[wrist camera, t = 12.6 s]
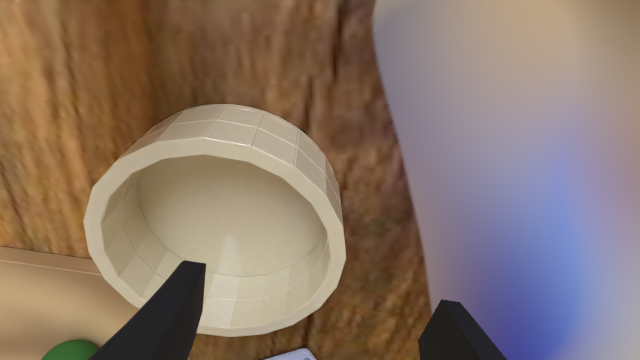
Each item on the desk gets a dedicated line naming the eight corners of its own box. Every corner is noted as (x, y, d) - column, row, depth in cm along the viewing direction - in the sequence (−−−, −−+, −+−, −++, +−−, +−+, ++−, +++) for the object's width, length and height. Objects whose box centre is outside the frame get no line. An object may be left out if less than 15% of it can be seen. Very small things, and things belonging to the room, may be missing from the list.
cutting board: (166, 419, 34) (161, 433, 33) (32, 405, 33) (23, 419, 32) (165, 269, 24) (158, 283, 23) (-26, 241, 23) (-42, 254, 22)
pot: (370, 243, 23) (381, 298, 19) (207, 299, 26) (187, 358, 22) (279, 62, 17) (268, 88, 13) (80, 159, 20) (22, 204, 16)
